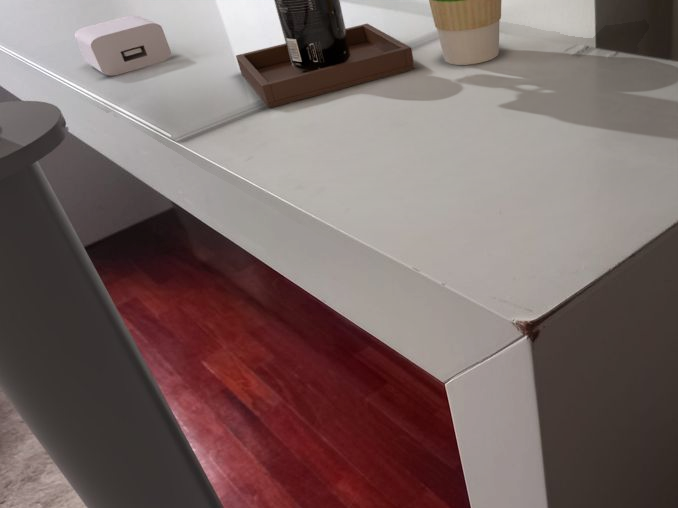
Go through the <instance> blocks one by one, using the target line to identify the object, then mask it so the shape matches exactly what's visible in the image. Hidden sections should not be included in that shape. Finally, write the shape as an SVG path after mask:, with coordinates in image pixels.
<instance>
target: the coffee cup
mask: <svg viewBox="0 0 678 508" xmlns="http://www.w3.org/2000/svg"><path fill="white" fill-rule="evenodd" d="M428 2H429V7H430V10H431V15H432V18H433V23H434V27H435V28H436V30H437V34H438V35H437V36H438V39H439V42H440V46H441V52H442V56H443V60H444V62H445V63H446V64H450V65H456V66H464V65H465V66H466V65H467V66H468V65H475V64H480V63H481V64H482V63H484V62H488V61H490V60H493V59H495V58H496V57H498V55H499V53H500V21H501V19H502V18H501V17H502V0H428Z"/></svg>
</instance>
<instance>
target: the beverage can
mask: <svg viewBox="0 0 678 508" xmlns="http://www.w3.org/2000/svg"><path fill="white" fill-rule="evenodd" d="M273 1H274V5H275V9H276V13H277V16H278V19H279V24H280V28H281V31H282V35H283V39H284V42H285V43H286V46H287V50H288V53H289V57H290V60H291V63H292V66H293V67H294V68H295V69H297V70H299V71H301V72H303V73H306V72H310V71H314V70H318V69H322V68H326V67H329V66H333V65H337V64H341V63H345V62H347V60H348V59H349V58H350V55H351V53H350V48H349V43H348V38H347V33H346V29H347V28H346V24H345V19H344V15H343V10H342V6H341V0H273Z"/></svg>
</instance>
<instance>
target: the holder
mask: <svg viewBox="0 0 678 508" xmlns="http://www.w3.org/2000/svg"><path fill="white" fill-rule="evenodd" d="M346 33H347V38H348V43H349V48H350V53H351V55H350V58H349V59H348V60H347V62H345V63H341V64H337V65H333V66H329V67H326V68H322V69H318V70H314V71H310V72H306V73H303V72H301V71H299V70H297V69H295V68H294V67H293V66H292V63H291V60H290V57H289V53H288V50H287V46H286V42H285V43H281V44H277V45H273V46H269V47H265V48H261V49H257V50H252V51H248V52H245V53H240V54H236V55H235V59H236V61H237V64H238V67H239V71H240V74H241V76H242V77H243V78H244V79H245V81H246V82H247V83H248V85H249V86H250V87H251V88H252V89H253V90H254V92H255V93H256V95H258V97H259V98H260V99H261V100H262V102H263V103H264V104H265V105H266V107H268V108H269V109H271V108H275V107H278V106H279V107H280V106H282V105H286V104H290V103H294V102H298V101H301V100H305V99H309V98H312V97H316V96H320V95H323V94H327V93H332V92H335V91H339V90H342V89H345V88H349V87H352V86H357V85H360V84H364V83H367V82H372V81H375V80H378V79H383V78H387V77H390V76H394V75H398V74H402V73H405V72H408V71H413V70H415V68H416V67H415V62H414V55H413V50H412V47H411V46H409V45H408V44H406V43H404V42H402V41H400V40H398V39H397V38H395V37H393V36H391V35H389V34H387V33H385V32H384V31H382V30H380V29H378V28H377V27H374V26H373V25H371V24H369V23H364V24H359V25H355V26H351V27H347V28H346Z"/></svg>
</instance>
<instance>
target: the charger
mask: <svg viewBox="0 0 678 508" xmlns="http://www.w3.org/2000/svg"><path fill="white" fill-rule="evenodd" d="M73 38H74V40H75V42H76V45H77V46H78V48H79V50H80V53H81V56H82V57H83V59H84V61H85V63H87V64H88V65H89V66H91V67H92V68H94V69H96V70H98V71H99V72H101V73H102V74H104V75H106V76H118V75H121V74H125V73H128V72H131V71H135V70H138V69H142V68H146V67H148V66H149V67H150V66H152V65H156V64H159V63H162V62H165V61H166V60H168V59H170V57H171V55H172V51H171V47H170V45H169V43H168V40H167V37H166V34H165V32H164V29H163V27H162V25H160V24H159V23H156V22H154V21H151V20H148V19H146V18H144V17H141V16H139V15H133V14H132V15H131V14H130V15H126V16H122V17H117V18H114V19H111V20H106V21H103V22H100V23H95V24H92V25H87V26H84V27H81V28H79V29H77V30H76V31H75V33H74V37H73Z"/></svg>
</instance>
